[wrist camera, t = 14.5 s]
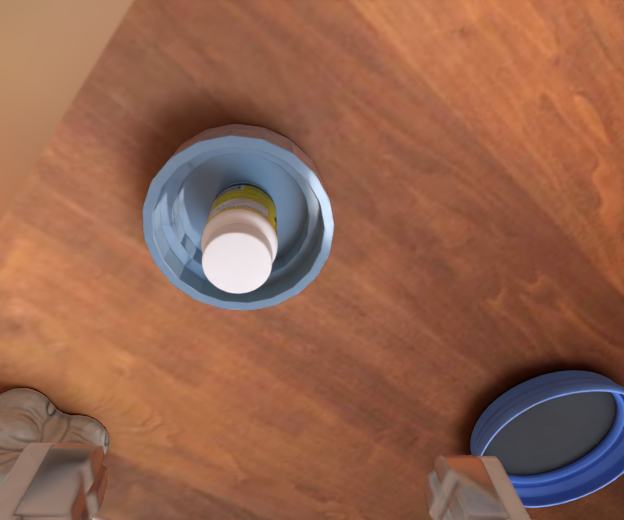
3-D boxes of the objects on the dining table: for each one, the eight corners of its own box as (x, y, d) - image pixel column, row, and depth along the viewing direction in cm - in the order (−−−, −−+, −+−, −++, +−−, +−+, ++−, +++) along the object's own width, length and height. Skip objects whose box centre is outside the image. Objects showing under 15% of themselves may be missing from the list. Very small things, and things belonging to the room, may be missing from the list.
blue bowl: (156, 111, 28) (137, 124, 24) (338, 134, 30) (348, 149, 26) (161, 272, 34) (146, 304, 30) (314, 284, 36) (319, 315, 32)
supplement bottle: (263, 249, 33) (260, 310, 26) (203, 227, 32) (183, 285, 24) (286, 194, 31) (291, 244, 24) (225, 169, 30) (209, 213, 22)
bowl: (475, 372, 42) (491, 399, 39) (649, 355, 43) (679, 380, 40) (454, 487, 50) (466, 517, 47) (600, 471, 51) (621, 499, 48)
